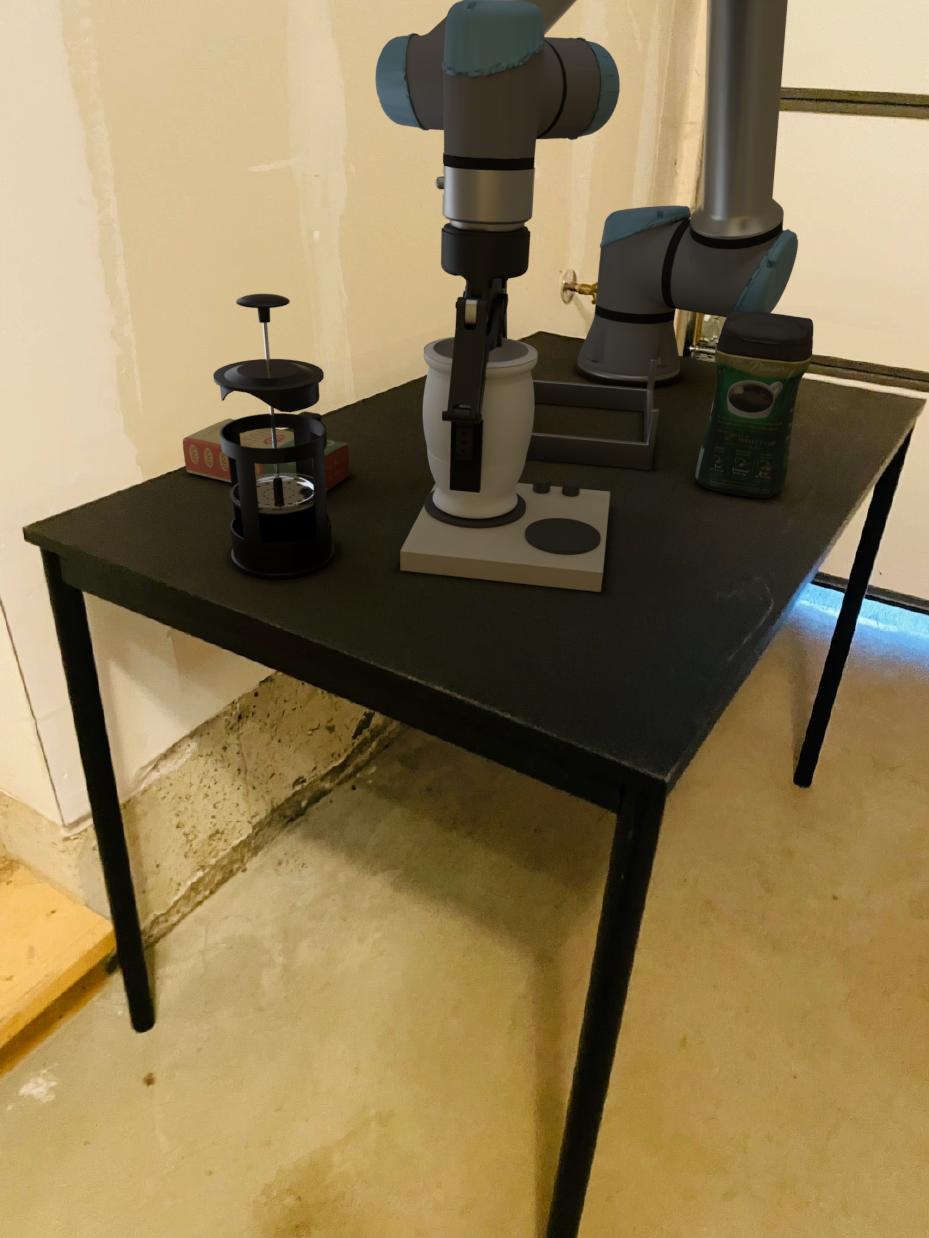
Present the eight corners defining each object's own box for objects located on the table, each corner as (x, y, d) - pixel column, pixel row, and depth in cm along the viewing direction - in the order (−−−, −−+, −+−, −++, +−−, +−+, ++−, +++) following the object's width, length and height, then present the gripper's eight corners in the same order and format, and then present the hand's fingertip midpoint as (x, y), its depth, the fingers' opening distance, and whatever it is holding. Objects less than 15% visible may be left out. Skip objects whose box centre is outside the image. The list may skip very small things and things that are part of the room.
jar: (518, 531, 84) (529, 369, 76) (410, 518, 86) (410, 359, 78) (534, 487, 93) (545, 338, 85) (435, 477, 95) (438, 330, 87)
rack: (511, 399, 125) (514, 348, 122) (650, 410, 123) (657, 358, 119) (488, 455, 107) (491, 397, 103) (651, 470, 104) (659, 411, 101)
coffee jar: (786, 480, 103) (825, 311, 93) (777, 506, 97) (817, 328, 87) (701, 465, 106) (730, 301, 97) (686, 489, 100) (716, 316, 90)
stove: (438, 492, 97) (439, 464, 96) (608, 509, 95) (611, 480, 93) (400, 570, 82) (399, 538, 80) (600, 592, 80) (604, 560, 78)
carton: (233, 451, 106) (229, 415, 104) (351, 477, 100) (350, 440, 98) (185, 474, 99) (180, 436, 97) (309, 504, 94) (307, 464, 91)
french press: (295, 592, 78) (274, 317, 66) (205, 568, 81) (170, 302, 69) (362, 538, 87) (354, 288, 76) (279, 519, 90) (259, 276, 79)
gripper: (466, 202, 87) (460, 417, 98) (409, 244, 66) (410, 511, 77) (545, 207, 86) (530, 423, 97) (511, 250, 65) (497, 520, 76)
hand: (477, 463), depth 87 cm, fingers open, 13 cm apart
